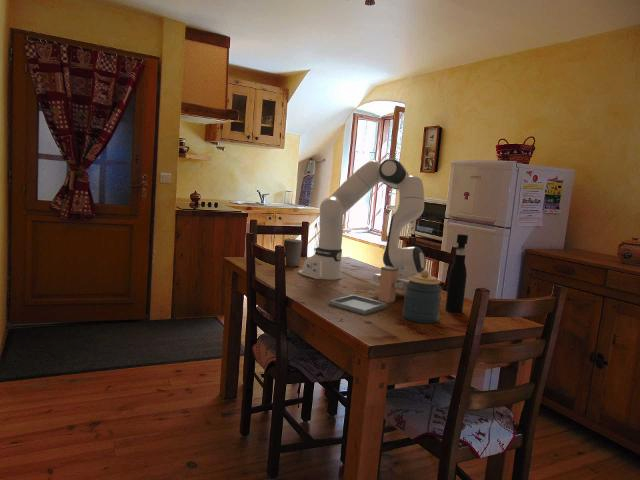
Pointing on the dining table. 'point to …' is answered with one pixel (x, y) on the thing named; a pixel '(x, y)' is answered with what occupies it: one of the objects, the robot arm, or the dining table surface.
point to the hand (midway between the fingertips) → (387, 283)
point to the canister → (422, 298)
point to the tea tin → (388, 284)
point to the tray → (358, 304)
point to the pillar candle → (293, 252)
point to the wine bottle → (457, 278)
